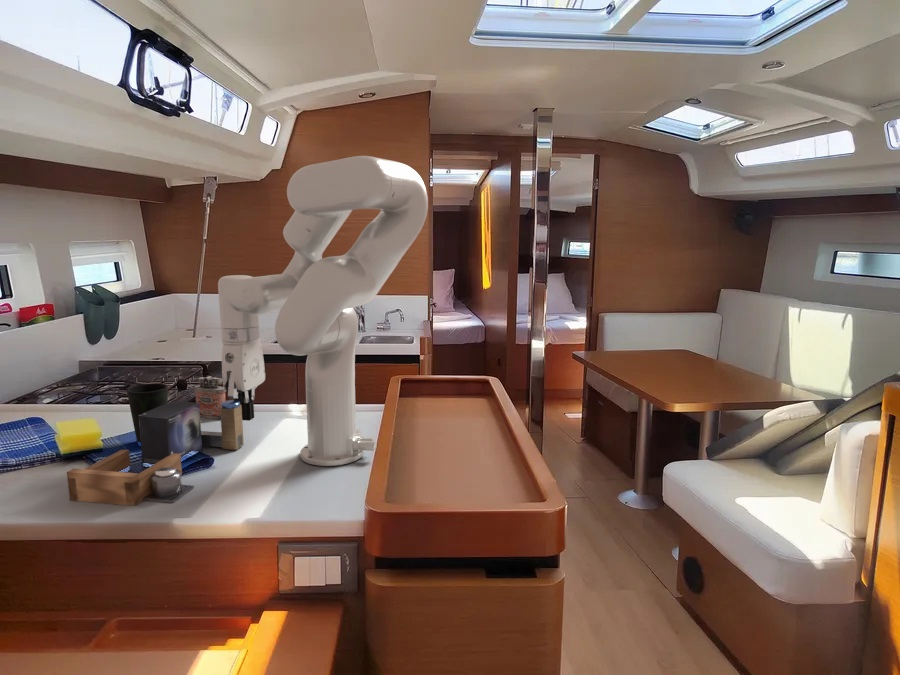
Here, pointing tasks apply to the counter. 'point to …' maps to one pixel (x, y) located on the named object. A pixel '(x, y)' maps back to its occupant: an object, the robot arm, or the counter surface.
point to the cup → (145, 401)
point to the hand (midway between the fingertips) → (245, 418)
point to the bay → (115, 480)
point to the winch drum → (167, 486)
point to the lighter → (210, 397)
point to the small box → (170, 431)
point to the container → (227, 428)
